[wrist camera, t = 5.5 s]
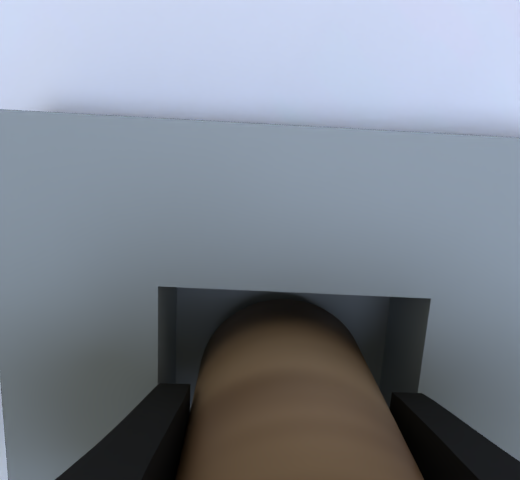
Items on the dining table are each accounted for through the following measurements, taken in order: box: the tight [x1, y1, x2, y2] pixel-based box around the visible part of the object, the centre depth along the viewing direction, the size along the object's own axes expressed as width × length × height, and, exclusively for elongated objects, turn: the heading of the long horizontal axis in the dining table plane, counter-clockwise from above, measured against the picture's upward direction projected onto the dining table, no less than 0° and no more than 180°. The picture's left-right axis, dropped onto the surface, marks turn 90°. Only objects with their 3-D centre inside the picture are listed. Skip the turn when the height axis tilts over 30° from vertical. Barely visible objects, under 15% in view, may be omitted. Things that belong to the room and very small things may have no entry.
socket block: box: [0, 109, 520, 480], centre depth 12 cm, size 12×12×3 cm
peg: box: [175, 299, 424, 480], centre depth 8 cm, size 4×4×7 cm
